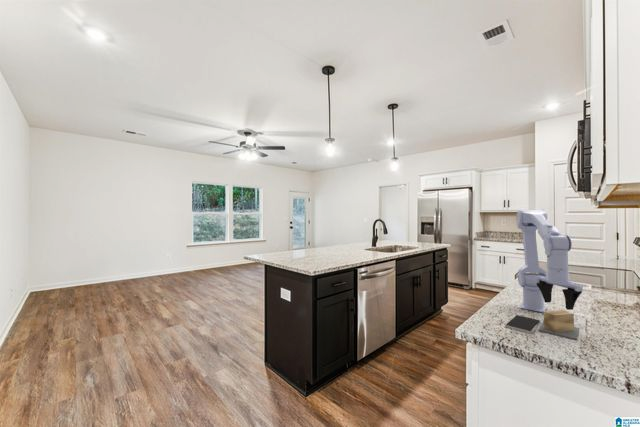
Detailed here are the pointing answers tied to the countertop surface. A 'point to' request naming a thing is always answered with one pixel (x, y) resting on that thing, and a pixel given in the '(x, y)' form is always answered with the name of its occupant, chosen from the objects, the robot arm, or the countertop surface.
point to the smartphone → (523, 324)
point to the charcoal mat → (567, 334)
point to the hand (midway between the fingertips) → (558, 305)
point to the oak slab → (559, 320)
